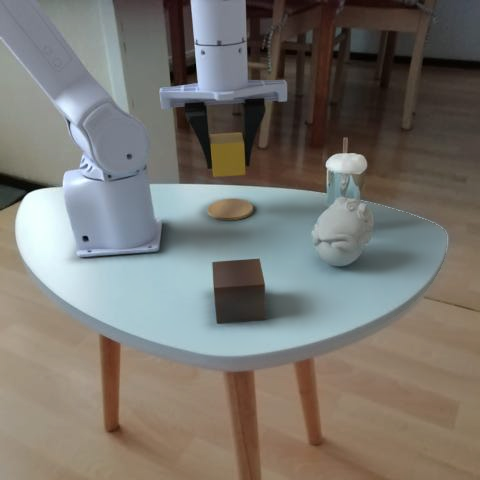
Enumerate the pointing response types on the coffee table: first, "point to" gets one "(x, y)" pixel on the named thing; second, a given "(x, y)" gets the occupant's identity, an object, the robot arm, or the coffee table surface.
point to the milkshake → (345, 175)
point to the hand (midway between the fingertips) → (227, 164)
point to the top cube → (227, 154)
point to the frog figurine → (343, 231)
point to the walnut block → (238, 290)
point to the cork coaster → (230, 209)
